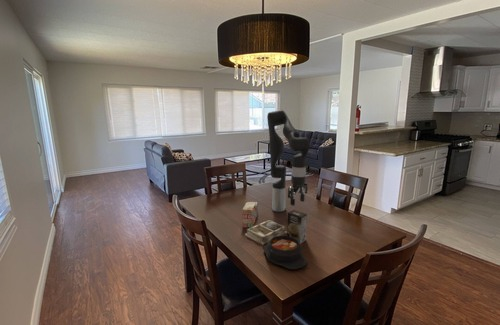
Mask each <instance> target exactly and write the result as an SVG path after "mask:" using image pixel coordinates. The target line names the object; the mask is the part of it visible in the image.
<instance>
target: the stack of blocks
mask: <svg viewBox="0 0 500 325" xmlns="http://www.w3.org/2000/svg"><path fill="white" fill-rule="evenodd" d="M258 205H259V204H258V202H257V201H249V202H245V205H244V206H243V208H242V228H248V227H249V228H251V227H254V226H255V225H254V224H255V222H256V220H257V217H258V214H259V209H258V208H259V207H258ZM249 228H248V229H249Z"/></svg>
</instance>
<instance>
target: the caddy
mask: <svg viewBox="0 0 500 325" xmlns="http://www.w3.org/2000/svg"><path fill="white" fill-rule="evenodd" d="M244 235H245V237H247V238H249V239H251V240H253V241H255V242H257V243H259V244H261V245H262V246H265V245H267V244H268V243H269V242H270V240H271V239H272V238H273V237H276V236H285V235H287V230H286V226H285V225H282V224H280V223H278V222H275V221H273V220H271V219H268V220H265V221H263V222H261V223H258V224H256V225H253V227H251V228H247V229H246V233H244Z"/></svg>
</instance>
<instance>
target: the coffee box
mask: <svg viewBox="0 0 500 325" xmlns="http://www.w3.org/2000/svg"><path fill="white" fill-rule="evenodd" d="M286 222H287V224H286V225H287V226H286V227H287V229H286V231H287V233H286V236H290V237H293V238H295V239H297V240H298V241H299V242H300V245H301V244H302V243H304V242H305V241H307V239H306V238H307V226H308V224H307V222H308V213H305V212H302V211H300V210H295V209H292V210H290V211H288V212H287V221H286Z"/></svg>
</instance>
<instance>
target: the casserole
mask: <svg viewBox="0 0 500 325" xmlns="http://www.w3.org/2000/svg"><path fill="white" fill-rule="evenodd" d="M263 250H264V253H265V256H266V258H267V260H268V261H269V262H271V263H273V264H275V265H279V266H282V267H283V268H286V269H288V270H298V269H301V268H303V267H305V266H306V265H308V260H307V259H306V257H305V255H304V254H303V252H302V250H303V246H302V245H301V244H300V242H299V241H298V240H297V239H295V238H293V237H290V236H287V235H282V236H276V237H273V238H272V239H271V240H270V242H268V243H267V244H265V245H263Z"/></svg>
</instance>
